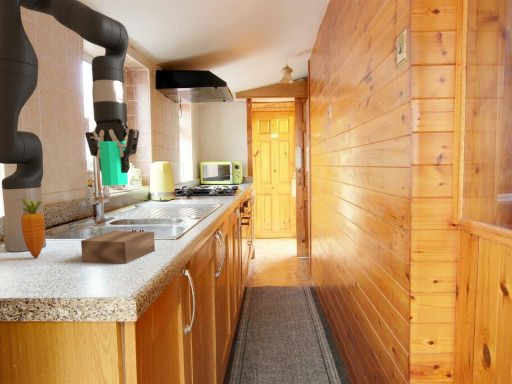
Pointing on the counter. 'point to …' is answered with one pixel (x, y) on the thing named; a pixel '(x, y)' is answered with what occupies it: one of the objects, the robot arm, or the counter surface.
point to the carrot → (33, 228)
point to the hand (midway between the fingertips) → (114, 172)
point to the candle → (111, 164)
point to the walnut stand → (117, 247)
